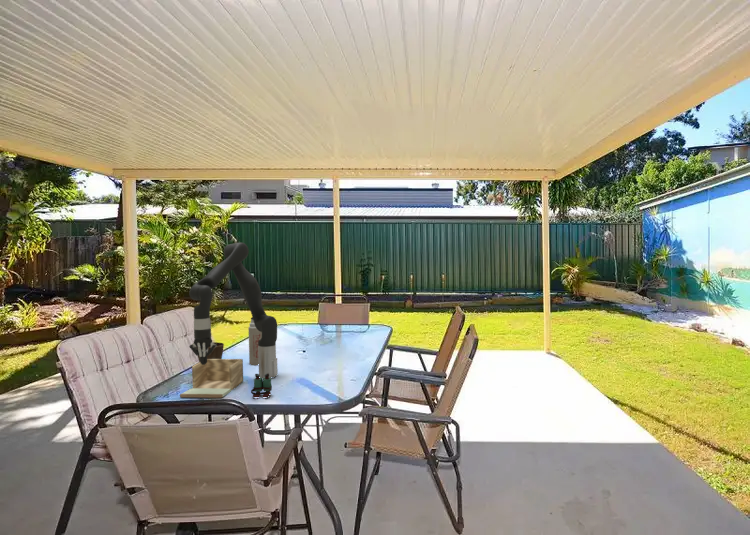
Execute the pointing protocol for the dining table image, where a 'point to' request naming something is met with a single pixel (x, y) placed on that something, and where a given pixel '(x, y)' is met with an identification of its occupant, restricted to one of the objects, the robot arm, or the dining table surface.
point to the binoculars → (262, 386)
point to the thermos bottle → (253, 343)
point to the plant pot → (215, 352)
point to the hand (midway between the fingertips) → (203, 364)
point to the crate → (218, 374)
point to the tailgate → (205, 392)
